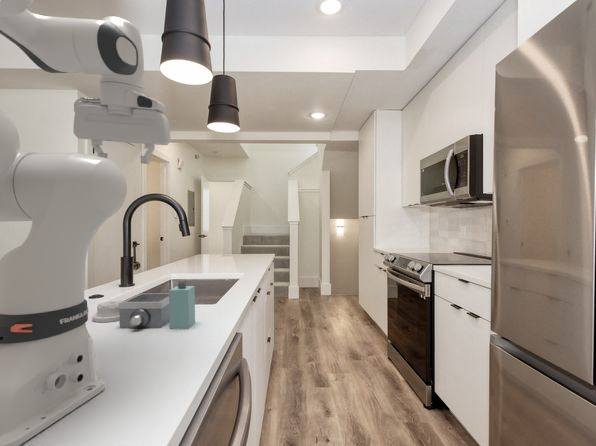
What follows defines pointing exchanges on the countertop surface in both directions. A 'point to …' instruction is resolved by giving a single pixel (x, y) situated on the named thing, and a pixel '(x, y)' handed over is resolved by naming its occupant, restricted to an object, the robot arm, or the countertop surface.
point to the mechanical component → (107, 312)
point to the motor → (144, 311)
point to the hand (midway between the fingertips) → (124, 162)
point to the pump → (181, 306)
